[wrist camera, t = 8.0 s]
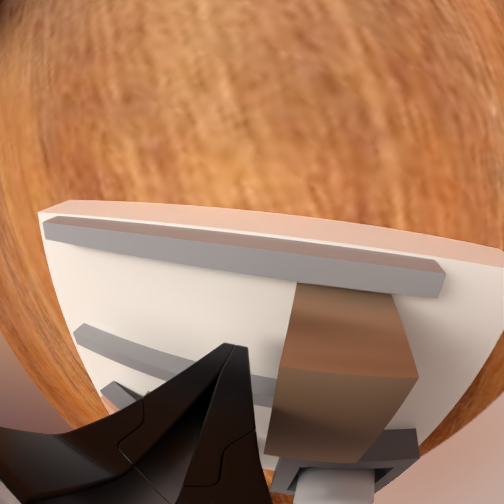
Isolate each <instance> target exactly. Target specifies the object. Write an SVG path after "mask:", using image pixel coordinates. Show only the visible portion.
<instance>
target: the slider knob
mask: <svg viewBox="0 0 504 504" xmlns="http://www.w3.org/2000/svg"><path fill="white" fill-rule="evenodd" d="M418 379H419V375H418V372H417V368H416V365H415V361H414V358H413V355H412V351H411V348H410V345H409V342H408V339H407V336H406V333H405V330H404V327H403V324H402V321H401V319H400V316H399V313H398V310H397V308H396V305H395V302H394V300H393V297H392V295H391V294H386V293H377V292H369V291H361V290H352V289H344V288H337V287H329V286H321V285H314V284H306V283H299V282H297V285H296V290H295V295H294V300H293V305H292V310H291V314H290V319H289V324H288V329H287V333H286V338H285V342H284V347H283V351H282V355H281V360H280V364H279V369H278V376H277V382H276V388H275V394H274V399H273V405H272V411H271V416H270V422H269V427H268V432H267V437H266V443H265V448H264V453H263V454H265V455H271V456H277V457H284V458H291V459H299V460H308V461H319V462H336V463H356V462H357V461H358V460H359V459H360V458H361V457H362V456H363V454H364V453H365V452H366V451H367V450H368V449H369V447H370V446H371V445H372V444H373V443H374V441H375V440H376V439H377V438H378V436H379V435H380V434H381V433H382V431H383V430H384V429H385V427H386V426H387V425H388V423H389V422H390V421H391V419H392V418H393V417H394V415H395V414H396V412H397V411H398V410H399V408H400V407H401V405H402V404H403V402H404V401H405V399H406V398H407V396H408V395H409V393H410V392H411V390H412V388H413V387H414V385H415V384H416V382H417V380H418Z"/></svg>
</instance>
